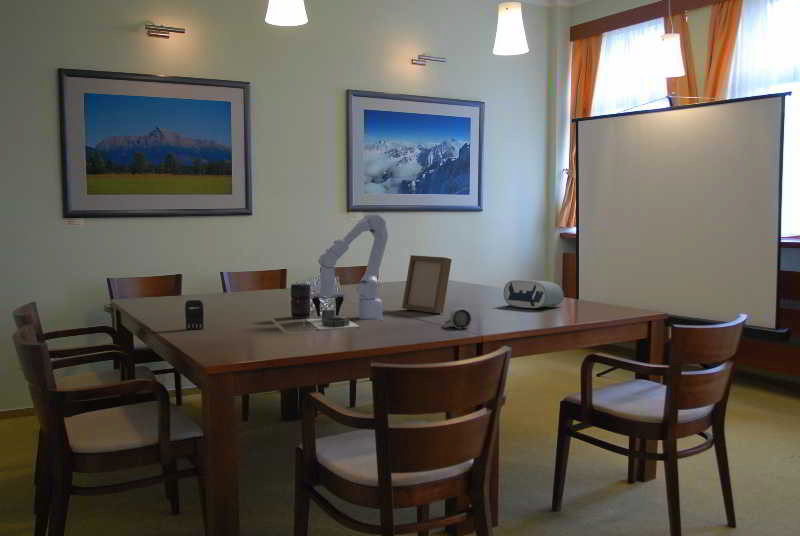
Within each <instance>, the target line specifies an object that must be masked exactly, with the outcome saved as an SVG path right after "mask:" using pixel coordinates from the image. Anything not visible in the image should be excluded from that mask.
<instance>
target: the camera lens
mask: <svg viewBox="0 0 800 536" xmlns="http://www.w3.org/2000/svg"><path fill="white" fill-rule="evenodd" d="M310 294H311V284H309V283H291V286H290V299H291V300H290V306H291V307H290V313H291V317H292V319H295V320H301V319H302V320H303V319H310V317H311V299H310Z"/></svg>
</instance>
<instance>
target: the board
mask: <svg viewBox="0 0 800 536" xmlns="http://www.w3.org/2000/svg"><path fill="white" fill-rule="evenodd" d="M305 319H306V321H307V322H309V323H310V324H311V325H313V326H314V327H316V329H317V330H316V331H318V332H328V331H327V330H332V331H345V330H346V329H349V330H360V329H361V327H360V326H359V324H357V323H354V322H353V321H351V320H350V319H349V318H347V317H344V316H343V317H335V316H334V318H325V319H322V318H305Z"/></svg>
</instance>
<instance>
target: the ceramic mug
mask: <svg viewBox="0 0 800 536" xmlns="http://www.w3.org/2000/svg"><path fill="white" fill-rule="evenodd" d="M471 322H472V314H471V313H470V311H469V310H467V309H465V308H461V307H460V308H459V307H457V308H454V309H453V310H452V311H451V313H450V314H449V319H448V320H446V321H444V322H443V323H442V327H443V328H444V329H446V328H447V329H448V328H450V327H452V326H453V327H455V328H456V329H458V328H459V330H462V329H461V328H465V329H467V328H468V327H469V326H470V325H471ZM460 327H461V328H460Z"/></svg>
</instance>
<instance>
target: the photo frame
mask: <svg viewBox="0 0 800 536" xmlns="http://www.w3.org/2000/svg"><path fill="white" fill-rule="evenodd" d="M452 261H453V259H452V258H448V257H444V256H431V255H428V256H427V255H413V254H411V255H410V257H409V265H408V269H407V276H406V280H405V281H406V282H405V288H404V293H403V300H402V306H401V308H402V309H404V310H409V309H411V311H416V310H417V312H423V311H424V313H430V312H431V313H430V314H437V313H438V314H437V315H440V314H439V313H443V314H444V308H445V304H446V302H445V301H446V298H447V297H446V296H447V292H448V291H447V289H448V285H449V278H450V271H451V265H452Z"/></svg>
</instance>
